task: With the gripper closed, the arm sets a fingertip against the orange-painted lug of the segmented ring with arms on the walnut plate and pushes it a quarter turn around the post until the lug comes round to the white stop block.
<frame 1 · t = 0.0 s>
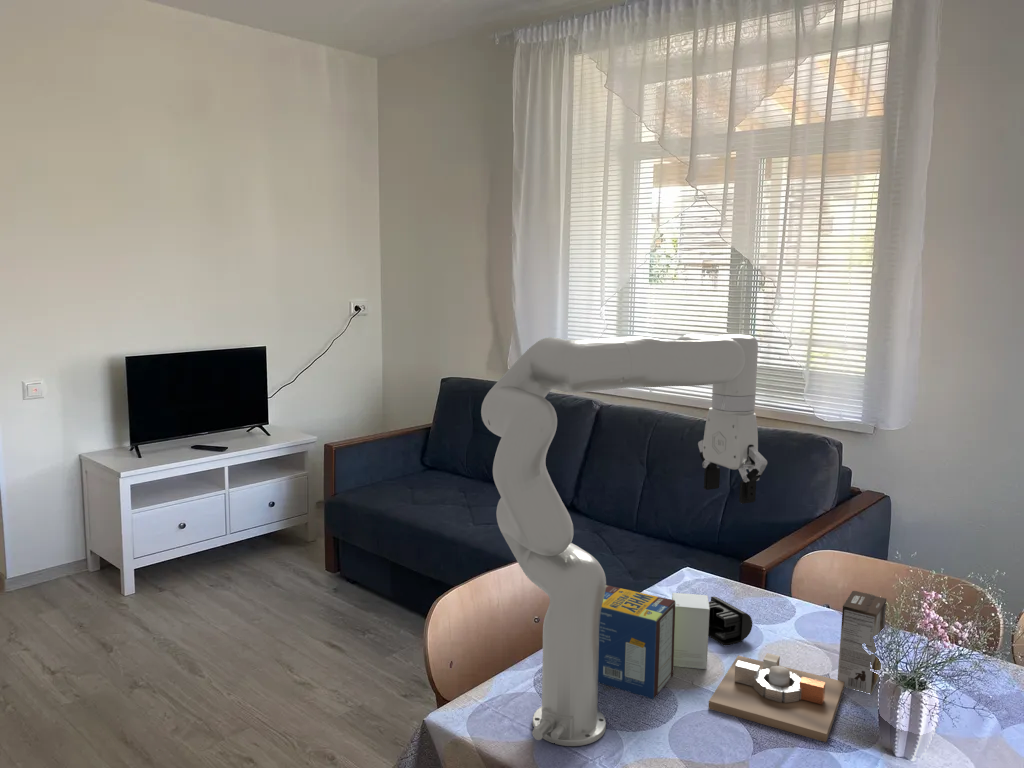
hand: (728, 495, 146), 37 cm above the table, tool pointing down, fingers open, 9 cm apart
supplement box: (687, 660, 161), on the table
base: (777, 698, 147), on the table
end cap: (723, 635, 173), on the table
segmented ring with arms: (778, 681, 146), point 3 cm above the table, hinge at 0.0°
coffee box: (858, 681, 153), on the table
protein box: (626, 677, 154), on the table
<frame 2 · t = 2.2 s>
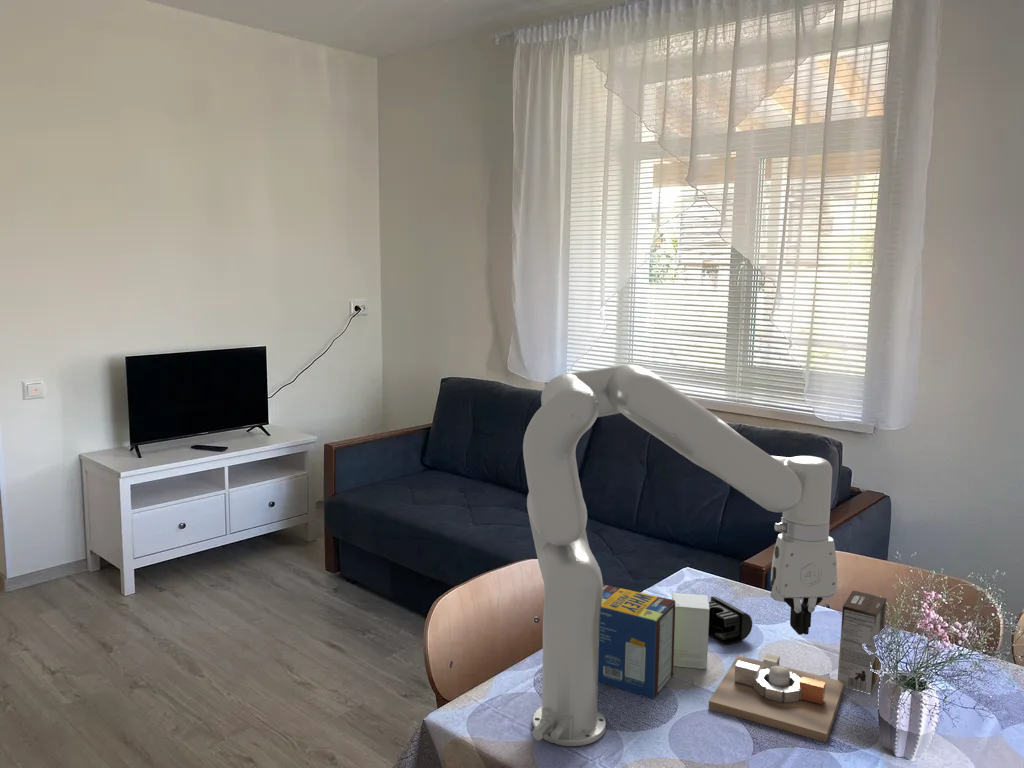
hand: (799, 630, 138), 16 cm above the table, tool pointing down, fingers closed
nothing on the table moved.
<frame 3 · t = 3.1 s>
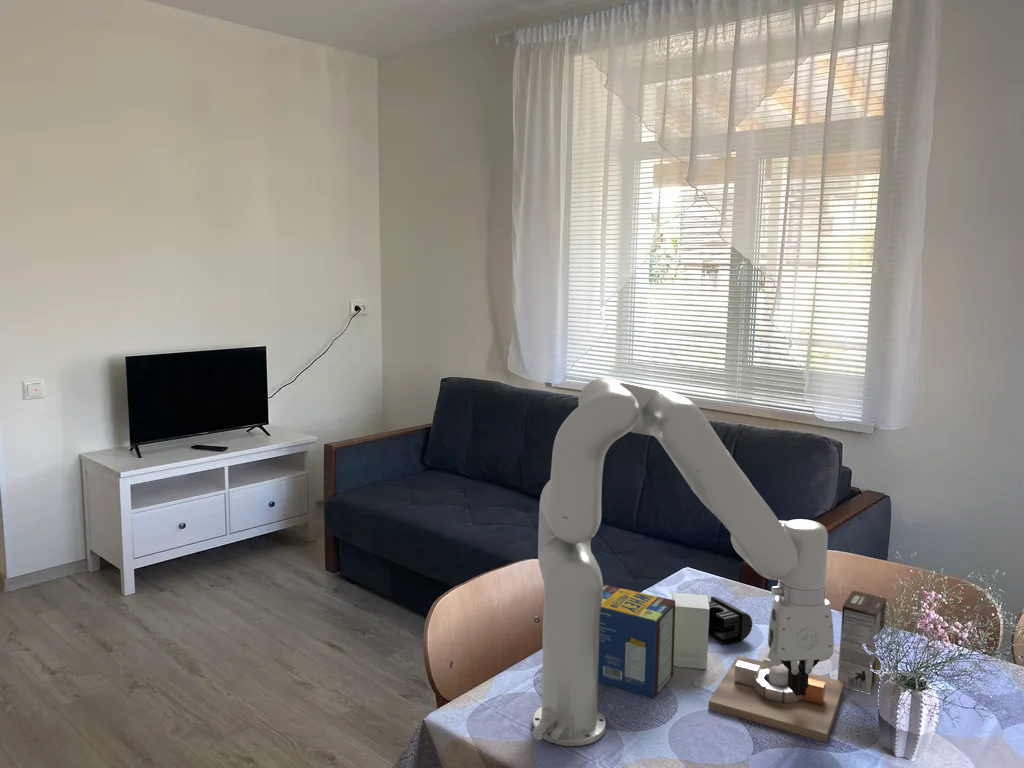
hand: (797, 691, 140), 5 cm above the table, tool pointing down, fingers closed
nothing on the table moved.
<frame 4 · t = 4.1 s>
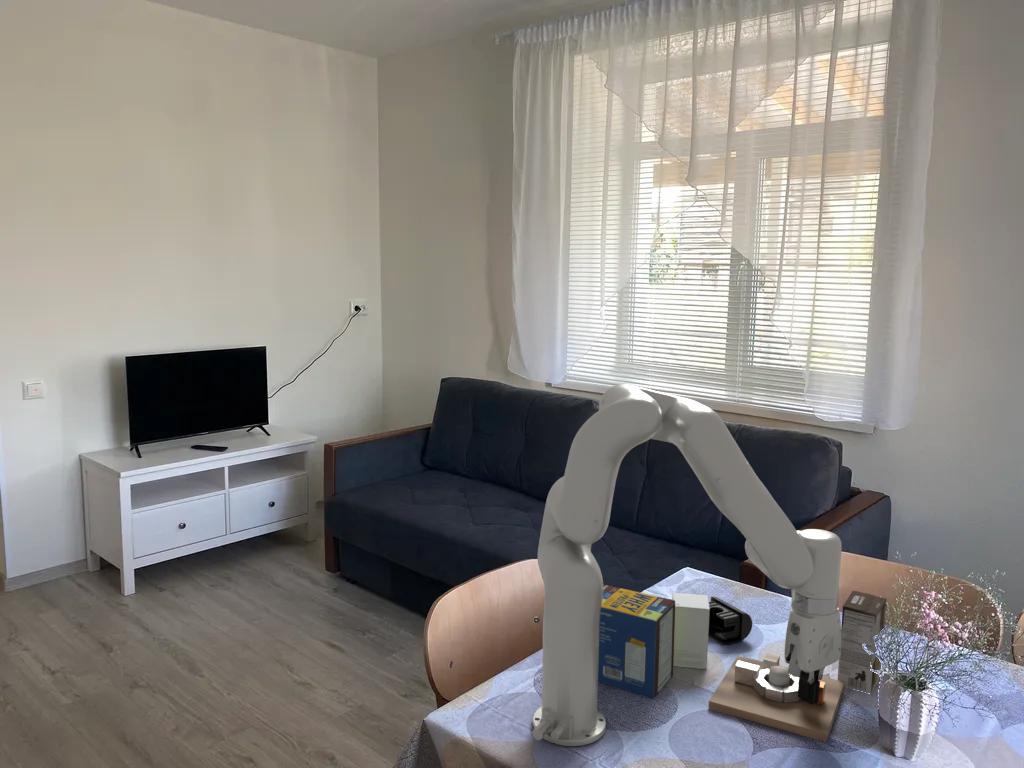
hand: (808, 699, 141), 3 cm above the table, tool pointing down, fingers closed
segmented ring with arms: (778, 681, 146), point 3 cm above the table, hinge at 0.0°, touching gripper
everything else where it was.
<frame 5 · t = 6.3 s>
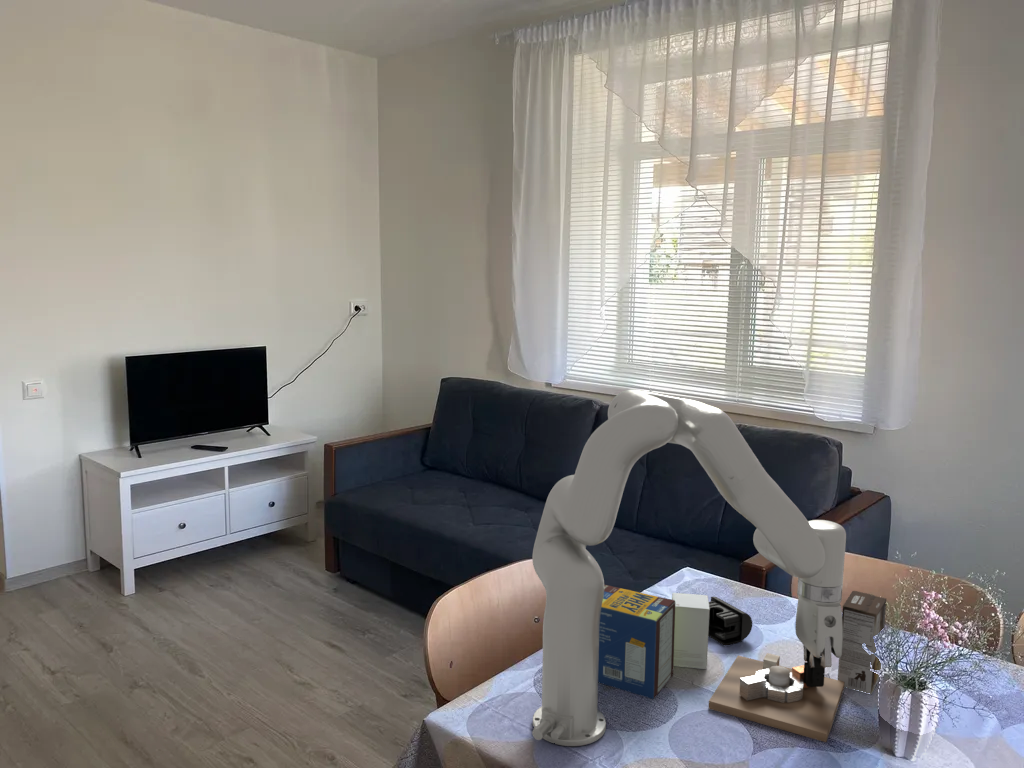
hand: (813, 684, 146), 3 cm above the table, tool pointing down, fingers closed
segmented ring with arms: (778, 681, 146), point 3 cm above the table, hinge at 51.3°, touching gripper
everything else where it was.
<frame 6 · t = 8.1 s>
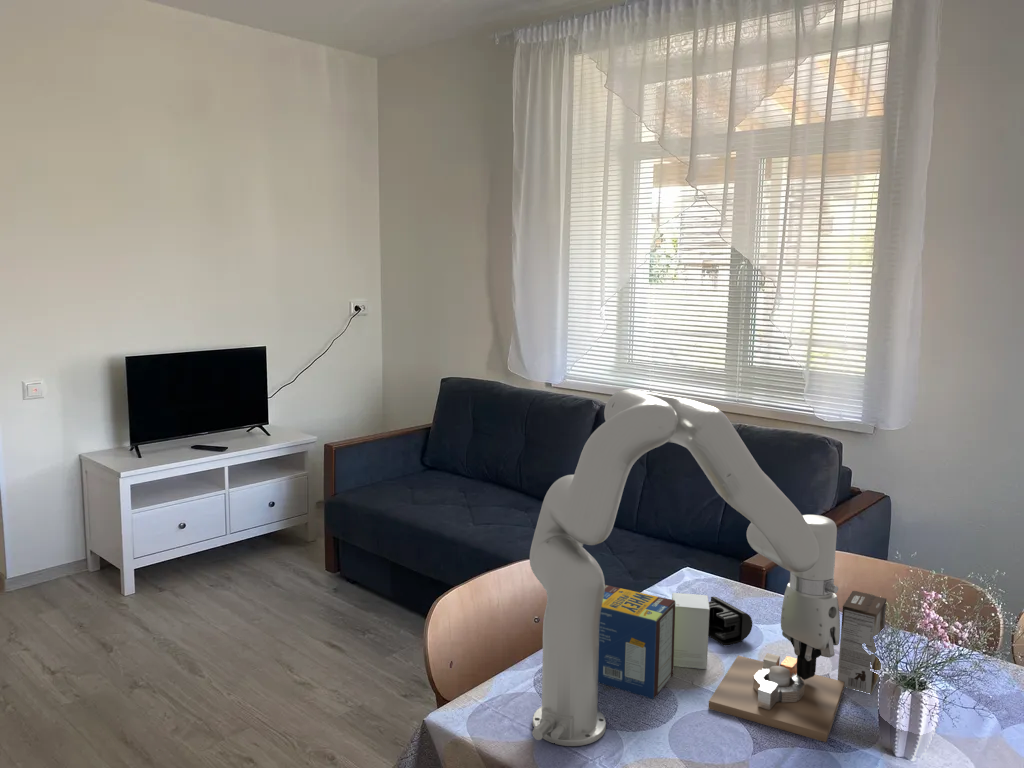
hand: (805, 676, 149), 3 cm above the table, tool pointing down, fingers closed
segmented ring with arms: (778, 681, 146), point 3 cm above the table, hinge at 83.3°, touching gripper
everything else where it was.
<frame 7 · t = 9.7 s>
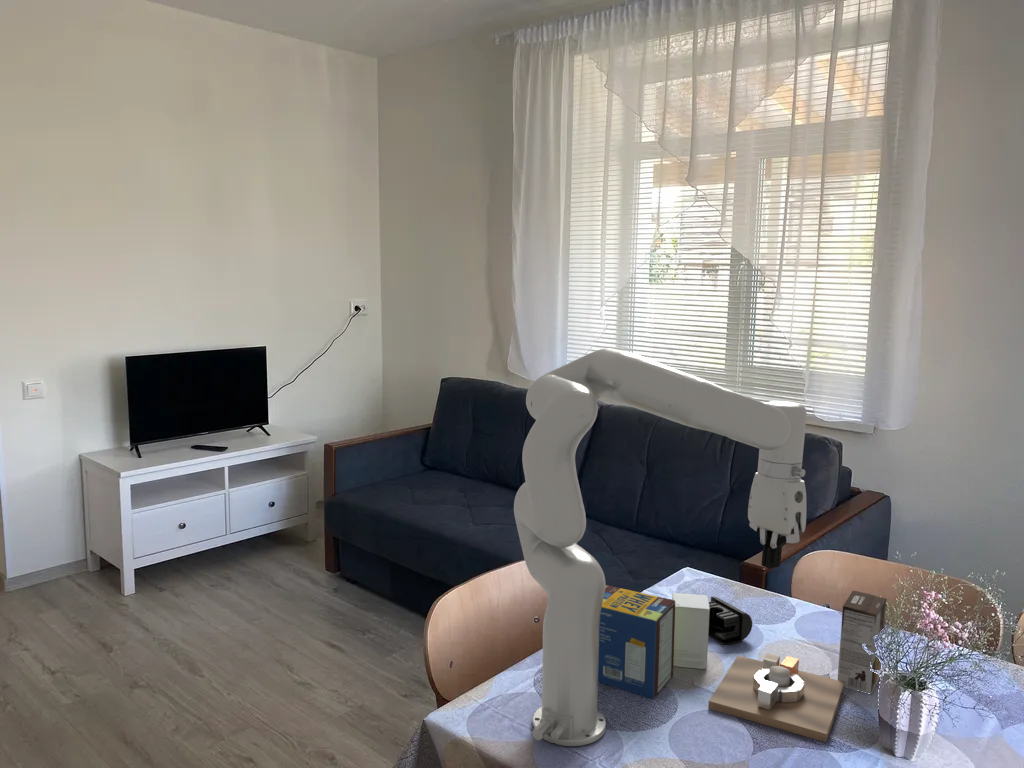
hand: (770, 566, 147), 24 cm above the table, tool pointing down, fingers closed
segmented ring with arms: (778, 681, 146), point 3 cm above the table, hinge at 83.3°
everything else where it was.
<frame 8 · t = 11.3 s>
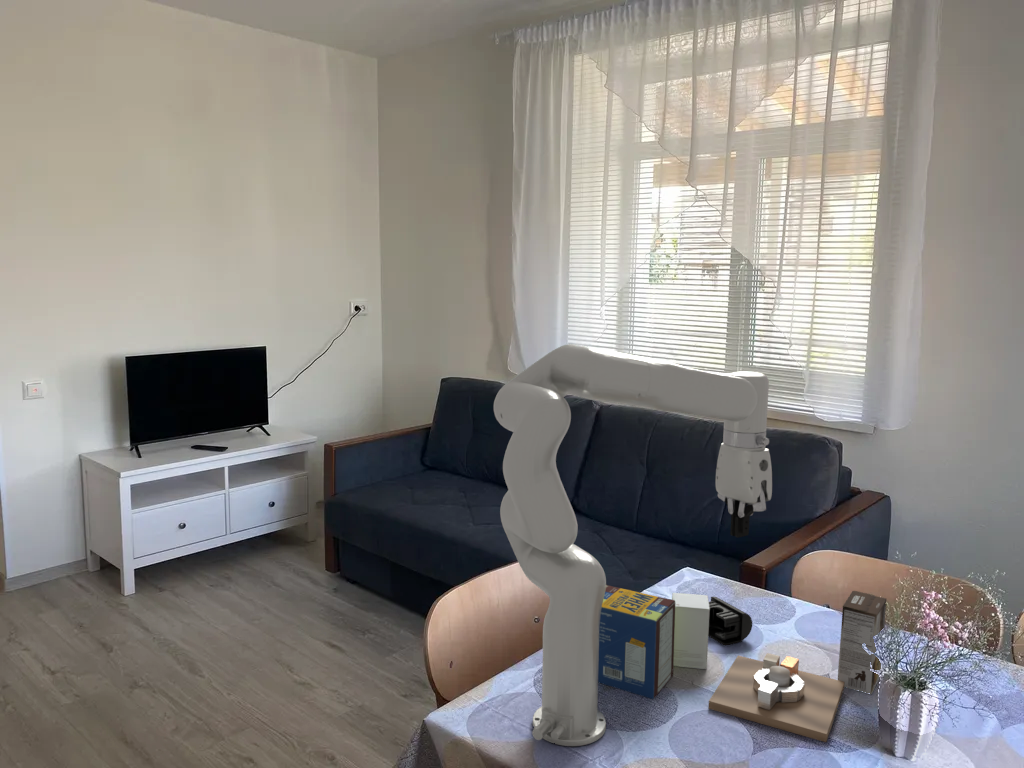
hand: (739, 535, 149), 29 cm above the table, tool pointing down, fingers closed
nothing on the table moved.
at the end: segmented ring with arms at +83° (first picture: +0°) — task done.
